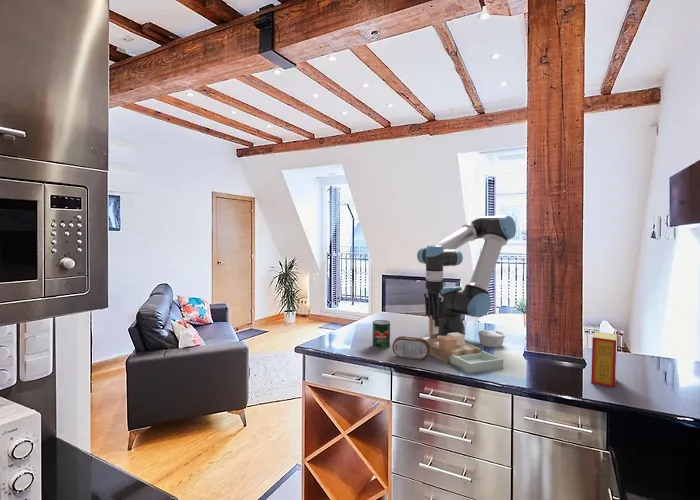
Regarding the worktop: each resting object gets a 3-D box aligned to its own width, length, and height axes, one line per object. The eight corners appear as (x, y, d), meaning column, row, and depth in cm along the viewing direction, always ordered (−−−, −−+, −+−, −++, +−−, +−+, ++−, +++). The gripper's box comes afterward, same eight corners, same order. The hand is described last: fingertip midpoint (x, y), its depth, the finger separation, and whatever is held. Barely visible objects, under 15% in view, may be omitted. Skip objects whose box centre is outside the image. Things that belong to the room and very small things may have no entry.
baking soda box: (593, 375, 138) (594, 330, 137) (615, 379, 134) (616, 333, 133) (591, 383, 130) (592, 336, 129) (614, 388, 126) (616, 339, 126)
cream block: (457, 341, 166) (457, 332, 166) (464, 344, 161) (464, 335, 161) (447, 342, 164) (447, 333, 164) (454, 345, 160) (454, 336, 159)
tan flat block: (458, 348, 169) (458, 339, 169) (479, 358, 156) (479, 348, 156) (426, 352, 164) (426, 343, 164) (446, 362, 151) (446, 352, 150)
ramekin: (510, 347, 172) (510, 335, 172) (488, 349, 169) (488, 337, 169) (493, 340, 183) (493, 329, 183) (473, 342, 180) (473, 331, 179)
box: (481, 358, 155) (481, 350, 155) (503, 368, 144) (503, 359, 144) (450, 363, 150) (450, 354, 150) (470, 373, 139) (470, 364, 139)
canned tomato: (377, 349, 168) (377, 324, 167) (369, 344, 175) (369, 320, 174) (393, 347, 170) (393, 323, 170) (385, 343, 178) (385, 319, 177)
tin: (430, 359, 155) (430, 338, 155) (429, 361, 152) (429, 340, 152) (393, 355, 160) (393, 335, 160) (391, 357, 157) (391, 336, 157)
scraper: (444, 343, 177) (445, 313, 176) (448, 345, 174) (449, 314, 174) (418, 347, 172) (418, 315, 171) (421, 348, 169) (422, 317, 169)
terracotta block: (448, 345, 160) (449, 336, 160) (456, 349, 155) (456, 339, 155) (438, 346, 158) (438, 337, 158) (445, 350, 153) (446, 340, 153)
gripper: (417, 278, 178) (417, 329, 179) (436, 282, 163) (436, 337, 164) (431, 278, 180) (431, 328, 181) (451, 281, 166) (451, 336, 167)
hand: (433, 332), depth 173 cm, fingers open, 2 cm apart
